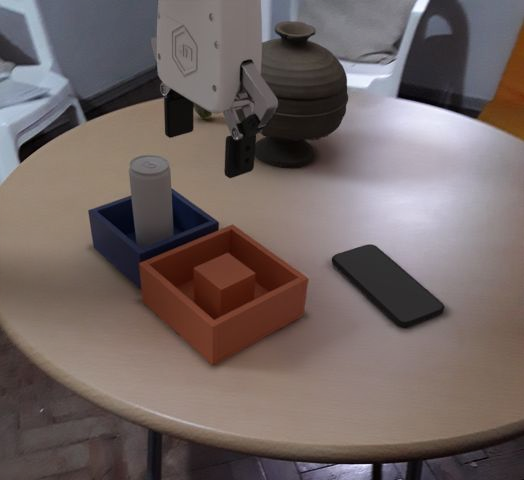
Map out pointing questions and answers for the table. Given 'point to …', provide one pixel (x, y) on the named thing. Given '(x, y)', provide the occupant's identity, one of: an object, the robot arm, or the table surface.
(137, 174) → the beverage can
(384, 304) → the smartphone
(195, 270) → the terracotta block
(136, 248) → the navy bin
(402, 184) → the table surface
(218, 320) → the terracotta bin
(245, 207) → the table surface
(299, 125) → the pot
